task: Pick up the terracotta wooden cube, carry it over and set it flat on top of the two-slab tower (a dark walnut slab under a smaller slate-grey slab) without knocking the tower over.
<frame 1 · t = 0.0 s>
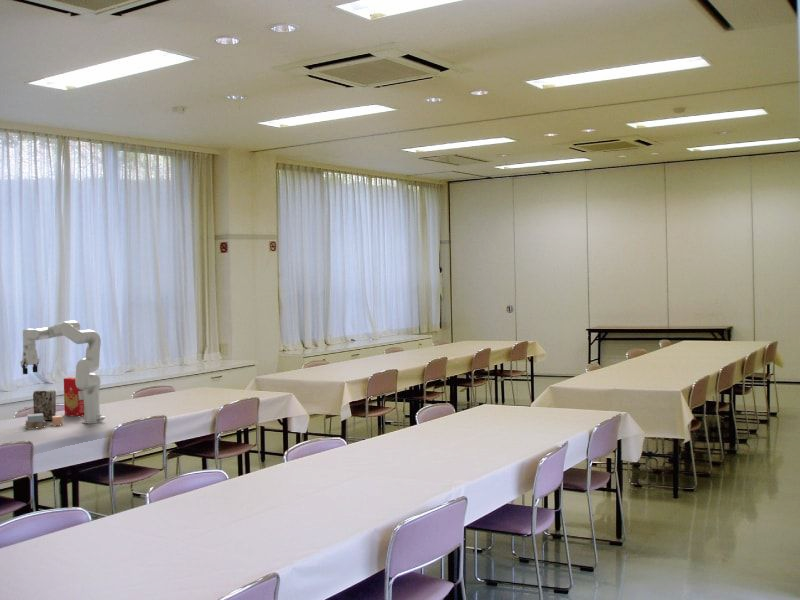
hand: (30, 373, 536), 31 cm above the table, tool pointing down, fingers open, 9 cm apart
food packaging: (75, 415, 554), on the table
stone block: (44, 420, 535), on the table
terracotta cube: (57, 424, 519), on the table
tower base slab: (35, 427, 514), on the table, touching tower top slab
tower top slab: (35, 421, 514), point 4 cm above the table, touching tower base slab
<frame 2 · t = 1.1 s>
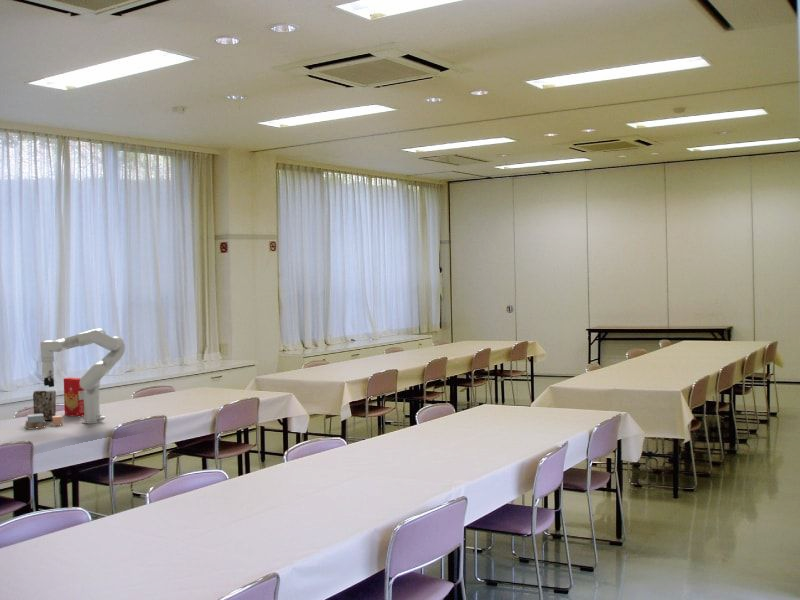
hand: (49, 386, 524), 24 cm above the table, tool pointing down, fingers open, 9 cm apart
nothing on the table moved.
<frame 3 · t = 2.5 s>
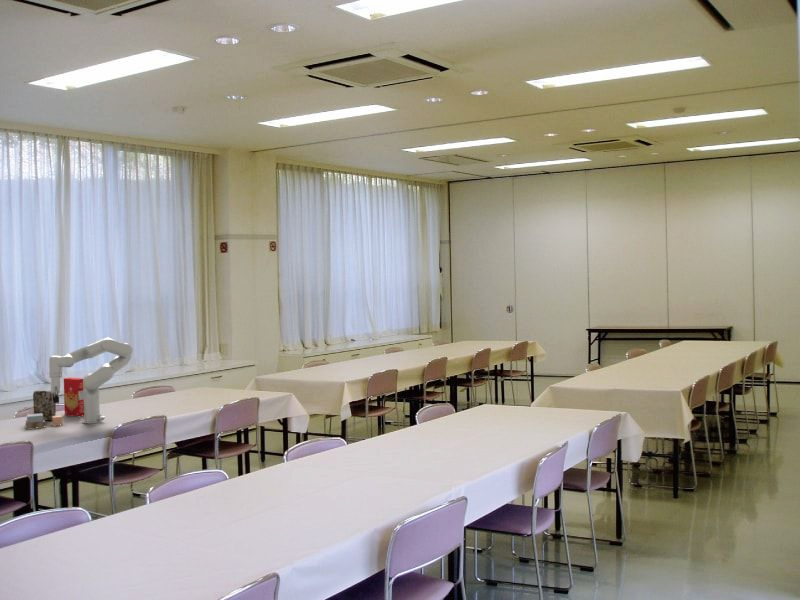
hand: (55, 401, 519), 15 cm above the table, tool pointing down, fingers open, 9 cm apart
nothing on the table moved.
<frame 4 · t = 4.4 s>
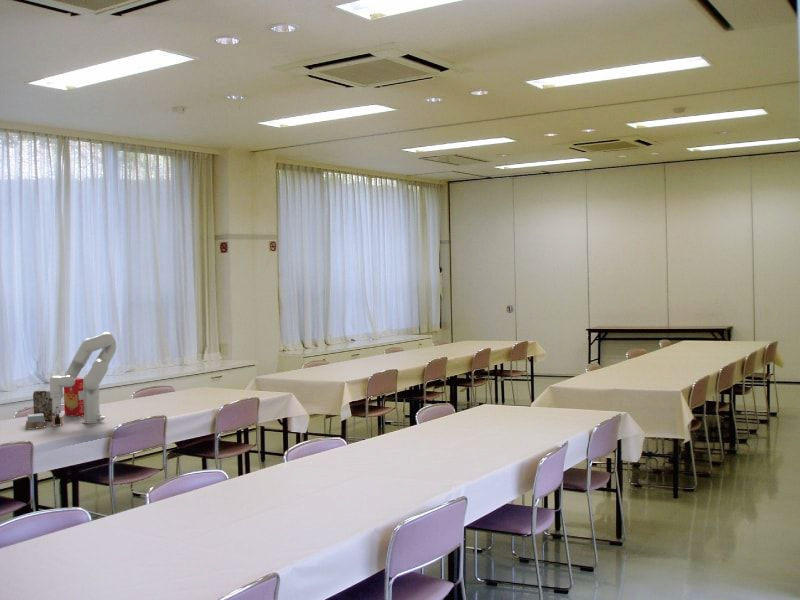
hand: (57, 423, 519), 1 cm above the table, tool pointing down, fingers closed on terracotta cube, 5 cm apart
terracotta cube: (57, 424, 519), on the table, touching gripper
tower base slab: (35, 427, 514), on the table
tower top slab: (35, 421, 514), point 4 cm above the table
everything else where it was.
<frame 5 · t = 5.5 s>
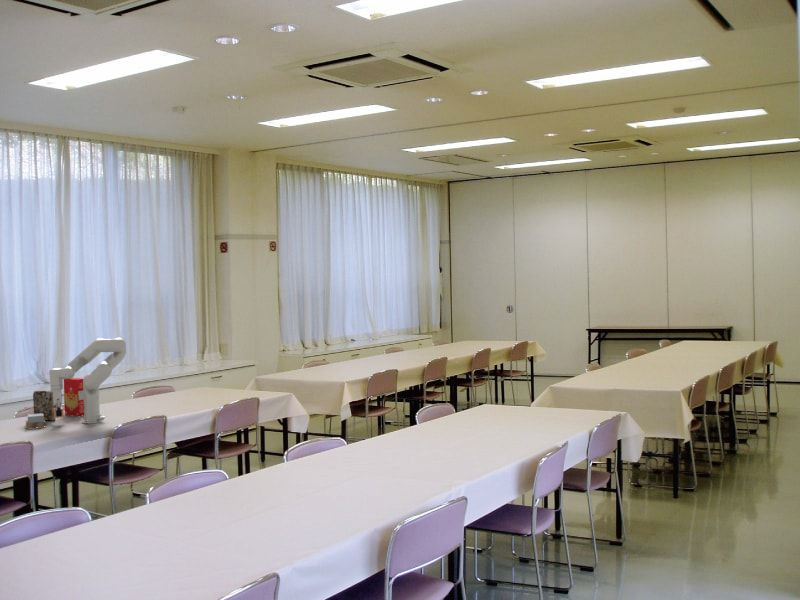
hand: (58, 415, 520), 6 cm above the table, tool pointing down, fingers closed on terracotta cube, 5 cm apart
terracotta cube: (59, 416, 520), point 5 cm above the table, touching gripper
tower base slab: (35, 427, 514), on the table, touching tower top slab
tower top slab: (35, 421, 514), point 3 cm above the table, touching tower base slab
everything else where it was.
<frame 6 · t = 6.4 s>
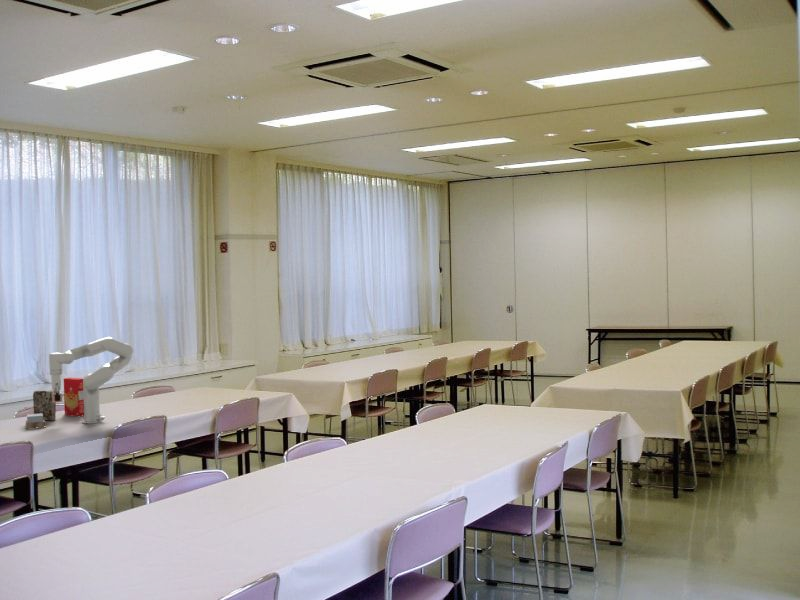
hand: (57, 399, 519), 16 cm above the table, tool pointing down, fingers closed on terracotta cube, 5 cm apart
terracotta cube: (57, 401, 519), point 15 cm above the table, touching gripper
everything else where it was.
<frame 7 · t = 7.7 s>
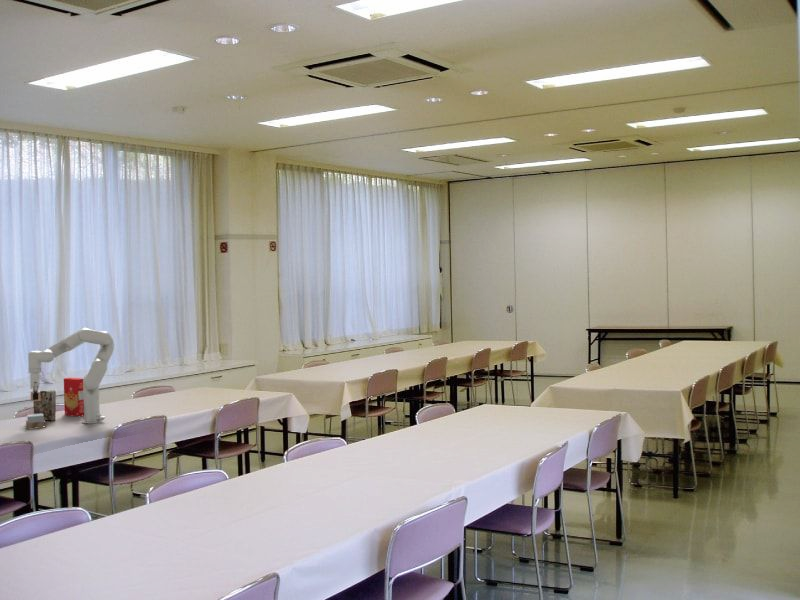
hand: (35, 398, 513), 18 cm above the table, tool pointing down, fingers closed on terracotta cube, 5 cm apart
terracotta cube: (35, 400, 513), point 17 cm above the table, touching gripper
everything else where it was.
when the fingers open (10 cm above the table, at t = 10.0 s): terracotta cube drops 1 cm, resting on tower top slab.
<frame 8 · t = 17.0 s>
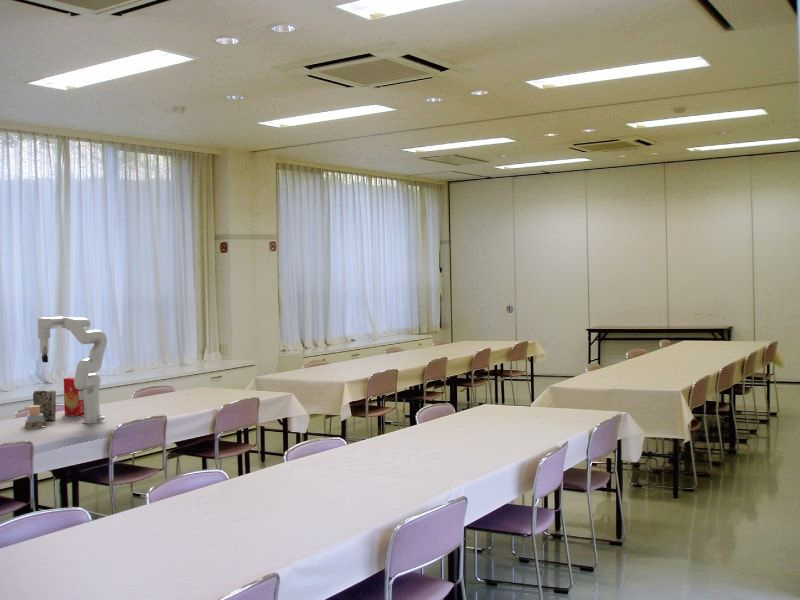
hand: (45, 361, 540), 38 cm above the table, tool pointing down, fingers open, 9 cm apart
terracotta cube: (34, 414, 514), point 8 cm above the table, touching tower top slab
tower top slab: (35, 420, 514), point 4 cm above the table, touching terracotta cube, tower base slab
everything else where it was.
at the end: terracotta cube 0.3 cm off-centre on the tower top slab, point 4.0 cm above the tower top slab's base; tower top slab moved 0.7 cm from its start; terracotta cube tilted 0° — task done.
